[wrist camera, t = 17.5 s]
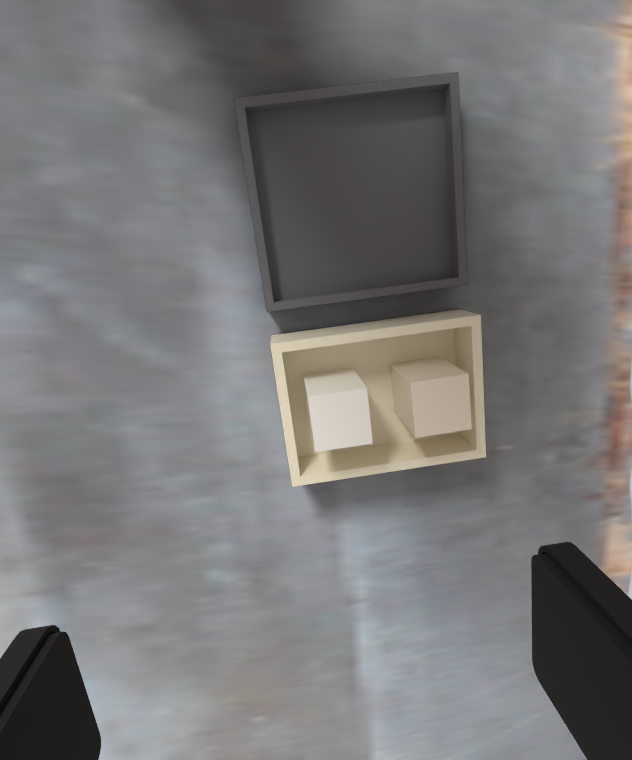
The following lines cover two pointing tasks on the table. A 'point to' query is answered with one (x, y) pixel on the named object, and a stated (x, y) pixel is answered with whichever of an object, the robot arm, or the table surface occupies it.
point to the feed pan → (356, 189)
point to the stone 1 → (337, 409)
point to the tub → (378, 392)
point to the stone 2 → (431, 396)
